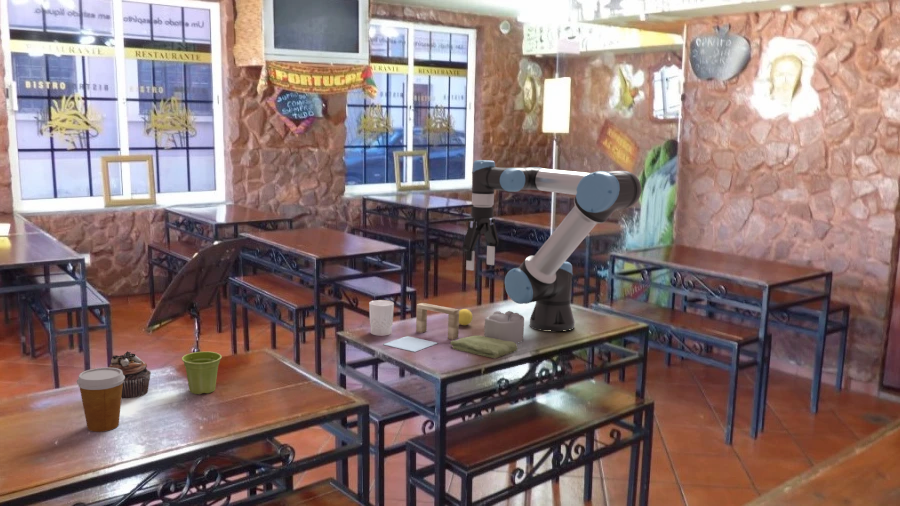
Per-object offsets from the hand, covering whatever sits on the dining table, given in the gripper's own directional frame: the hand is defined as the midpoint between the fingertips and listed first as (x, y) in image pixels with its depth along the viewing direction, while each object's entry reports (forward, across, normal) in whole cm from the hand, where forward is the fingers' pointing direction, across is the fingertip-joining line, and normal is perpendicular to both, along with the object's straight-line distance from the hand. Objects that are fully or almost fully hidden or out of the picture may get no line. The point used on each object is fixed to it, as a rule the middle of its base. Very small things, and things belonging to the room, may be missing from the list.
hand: (480, 267), depth 269 cm
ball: (+16, +9, 0) cm, 18 cm away
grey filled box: (+19, +16, +19) cm, 31 cm away
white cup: (+19, +35, -16) cm, 43 cm away
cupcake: (+19, +117, -29) cm, 122 cm away
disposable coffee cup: (+19, +133, -16) cm, 135 cm away
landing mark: (+19, +39, -1) cm, 43 cm away
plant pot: (+19, +105, -17) cm, 108 cm away
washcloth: (+20, +29, +19) cm, 40 cm away
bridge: (+19, +25, -1) cm, 31 cm away
